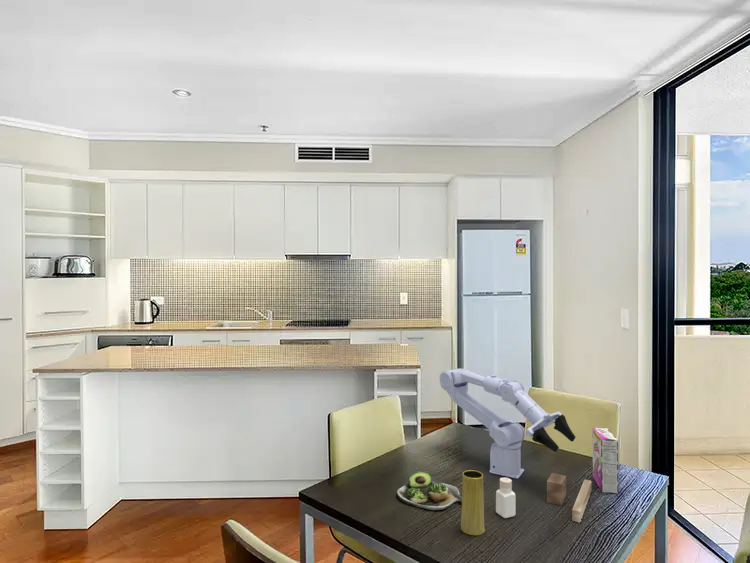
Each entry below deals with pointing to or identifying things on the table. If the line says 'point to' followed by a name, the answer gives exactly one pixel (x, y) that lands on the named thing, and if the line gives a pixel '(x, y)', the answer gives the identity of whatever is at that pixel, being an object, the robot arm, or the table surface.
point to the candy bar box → (605, 460)
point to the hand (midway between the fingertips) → (565, 444)
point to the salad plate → (428, 492)
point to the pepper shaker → (505, 499)
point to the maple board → (581, 501)
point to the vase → (472, 503)
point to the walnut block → (556, 489)
